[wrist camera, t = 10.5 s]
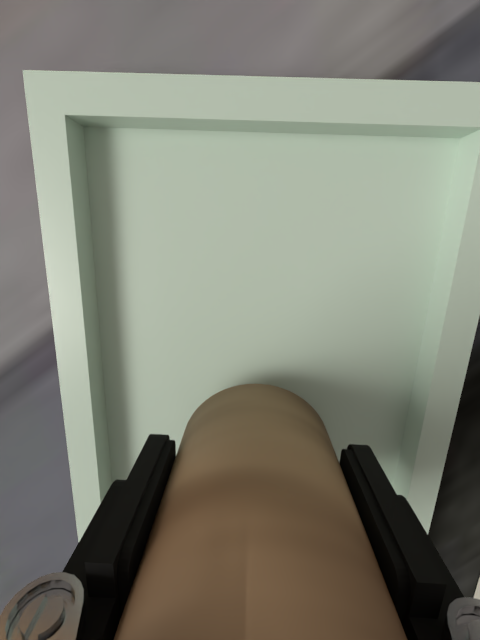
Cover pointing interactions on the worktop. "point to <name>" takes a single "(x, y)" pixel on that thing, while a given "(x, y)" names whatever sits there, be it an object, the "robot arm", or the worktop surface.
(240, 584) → the wooden cylinder
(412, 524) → the robot arm
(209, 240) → the tray
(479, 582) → the white rectangular frame
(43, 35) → the worktop surface
